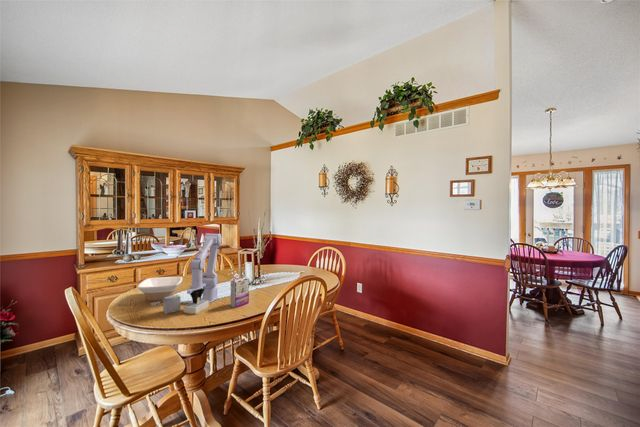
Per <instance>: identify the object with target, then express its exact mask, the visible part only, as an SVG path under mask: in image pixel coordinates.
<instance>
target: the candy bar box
mask: <svg viewBox="0 0 640 427" xmlns="http://www.w3.org/2000/svg"><path fill="white" fill-rule="evenodd" d="M249 289H250V278H249V277H246V276H244V277H240V278H237V279H236V278H235V279H234V280H231V281H230V307H231V308H234V309H237V308H239V307H242V306H244V305H247V304H249V302H250V299H249V298H250V294H249V293H250V290H249Z"/></svg>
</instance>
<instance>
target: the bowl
mask: <svg viewBox="0 0 640 427" xmlns="http://www.w3.org/2000/svg"><path fill="white" fill-rule="evenodd" d="M182 281H183V277H182V276H165V277H164V276H163V277H161V276H160V277H157V276H156V277H148V278H146V279H143V280H142V281H141V282H139V284H138V285H137V290H139V291H140V292H142V293H143V294H144V295H145V297H146V298H147V300H148V301H149V302H151V301H154V302H155V301H156V302H157V301H163V298H165V297H169V296H173V295H174V294H175V291H176V289H177V288H178V287H179V285H180V284H181V283H182Z"/></svg>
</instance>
